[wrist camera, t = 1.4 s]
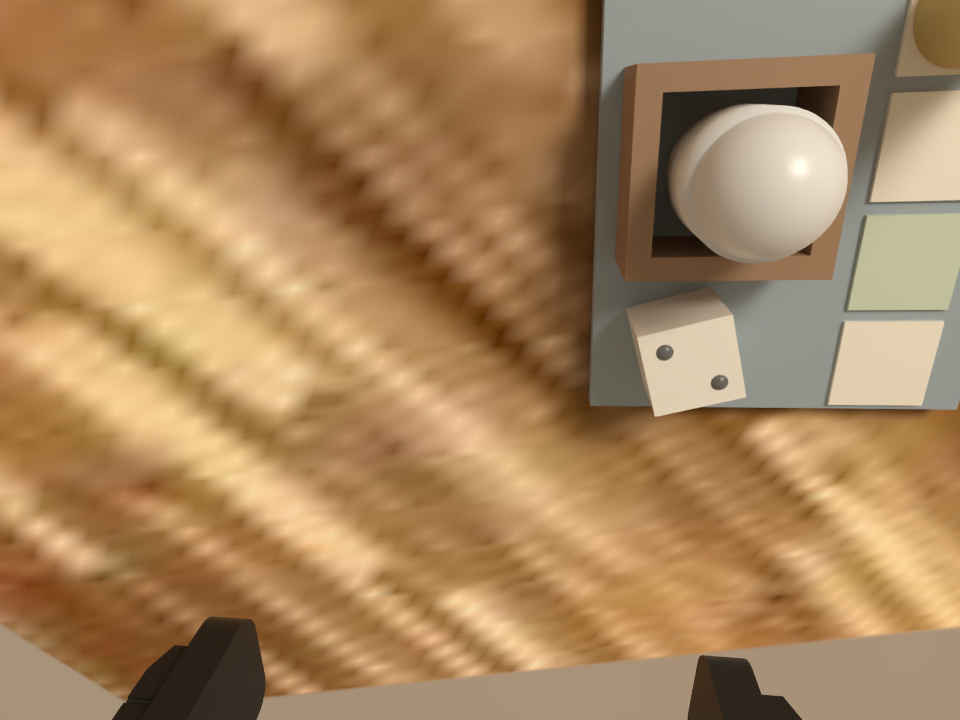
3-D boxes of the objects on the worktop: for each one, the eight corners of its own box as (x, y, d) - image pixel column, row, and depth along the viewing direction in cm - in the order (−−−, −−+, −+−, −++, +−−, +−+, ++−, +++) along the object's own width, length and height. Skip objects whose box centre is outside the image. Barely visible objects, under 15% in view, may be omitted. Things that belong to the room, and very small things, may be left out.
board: (603, -34, 26) (617, -63, 21) (1075, -63, 24) (1206, -101, 19) (588, 395, 34) (596, 445, 29) (942, 398, 32) (1012, 452, 27)
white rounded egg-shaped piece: (670, 105, 24) (711, 110, 18) (812, 100, 23) (902, 103, 17) (660, 240, 26) (694, 283, 20) (790, 237, 25) (864, 281, 19)
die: (625, 307, 30) (637, 339, 26) (709, 286, 29) (734, 316, 26) (642, 379, 32) (655, 418, 28) (722, 361, 31) (747, 399, 27)
